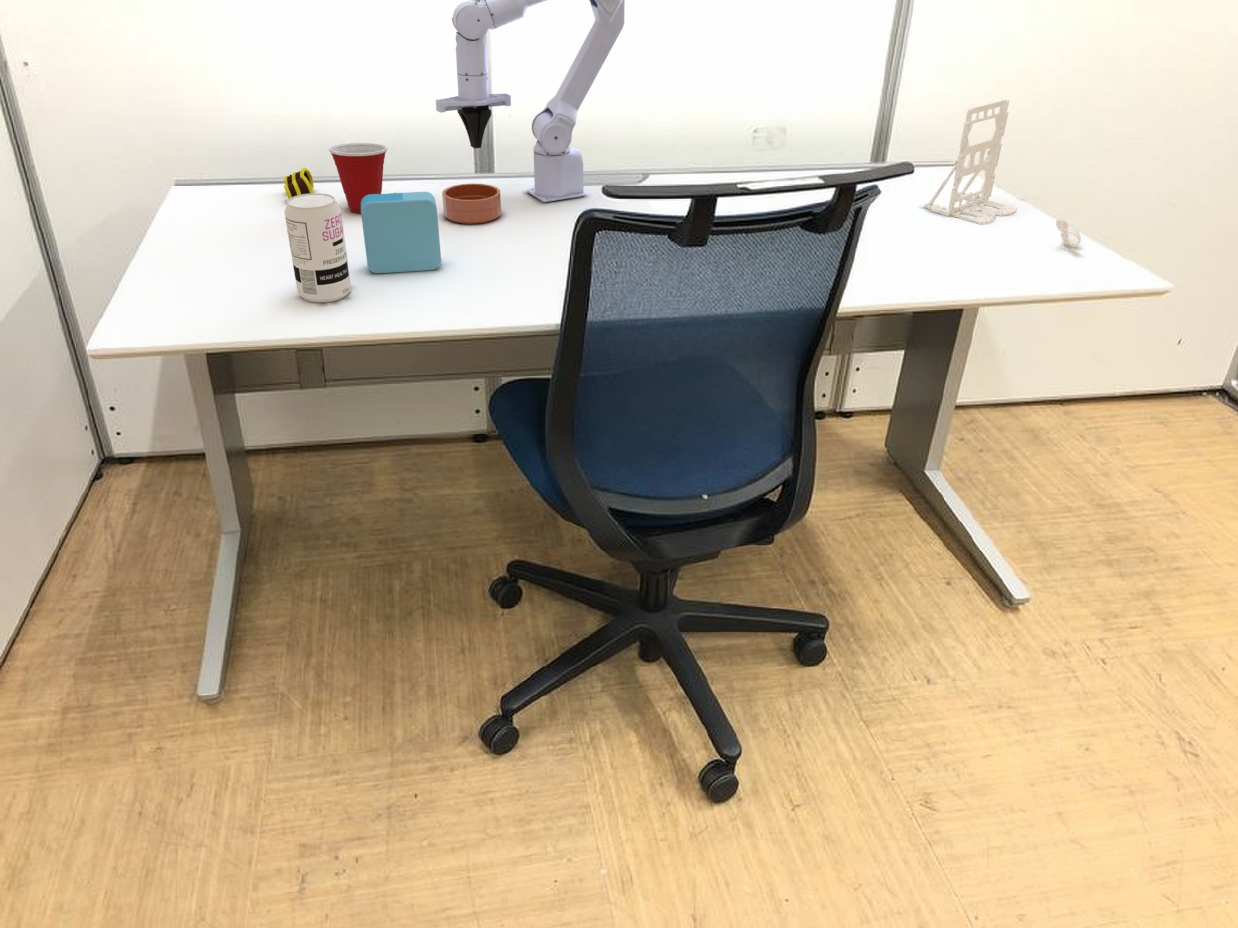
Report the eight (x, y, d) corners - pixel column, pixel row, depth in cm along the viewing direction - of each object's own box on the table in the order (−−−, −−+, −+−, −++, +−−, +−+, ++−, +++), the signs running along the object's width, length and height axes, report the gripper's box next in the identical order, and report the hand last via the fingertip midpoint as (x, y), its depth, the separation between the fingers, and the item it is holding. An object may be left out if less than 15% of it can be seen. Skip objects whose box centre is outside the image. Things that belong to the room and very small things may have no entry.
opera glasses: (290, 194, 205) (281, 170, 202) (316, 187, 205) (307, 164, 203) (290, 209, 197) (281, 184, 194) (317, 202, 197) (308, 177, 195)
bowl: (450, 206, 197) (449, 182, 195) (506, 208, 197) (505, 184, 194) (438, 224, 188) (436, 199, 186) (496, 226, 188) (495, 202, 185)
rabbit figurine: (1090, 246, 183) (1086, 238, 176) (1070, 261, 184) (1066, 253, 177) (1069, 222, 185) (1064, 213, 178) (1050, 236, 186) (1044, 228, 179)
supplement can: (303, 284, 162) (288, 192, 154) (355, 283, 163) (343, 191, 155) (293, 304, 156) (277, 209, 148) (348, 303, 156) (335, 208, 148)
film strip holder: (982, 226, 191) (1005, 118, 181) (920, 208, 200) (938, 104, 189) (1022, 211, 199) (1046, 107, 189) (961, 195, 208) (981, 94, 198)
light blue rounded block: (440, 260, 172) (434, 190, 166) (442, 269, 169) (436, 199, 162) (368, 264, 170) (359, 194, 164) (368, 274, 166) (359, 203, 160)
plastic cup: (400, 201, 199) (394, 139, 193) (384, 219, 190) (377, 154, 184) (347, 199, 200) (339, 137, 194) (328, 216, 191) (319, 152, 185)
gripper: (444, 80, 182) (448, 156, 189) (517, 74, 189) (518, 148, 196) (429, 73, 187) (434, 147, 194) (501, 67, 194) (503, 139, 201)
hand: (475, 147), depth 195 cm, fingers closed
